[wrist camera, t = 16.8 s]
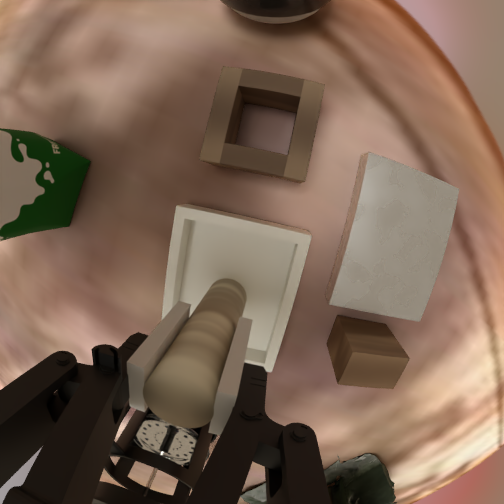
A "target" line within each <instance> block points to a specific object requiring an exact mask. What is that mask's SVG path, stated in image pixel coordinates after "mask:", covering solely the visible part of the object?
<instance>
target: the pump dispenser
mask: <svg viewBox="0 0 504 504" xmlns="http://www.w3.org/2000/svg"><path fill="white" fill-rule="evenodd" d="M220 1H222V2H223V3H224V4H225V5H227V6H229V7H230V8H231V9H232V10H234V11H235V12H237V13H238V14H240V15H242V16H244V17H246V18H249V19H251V20H255V21H258V22H263V23H273V24H280V23H290V22H295V21H299V20H302V19H304V18H307V17H309V16H311V15H312V14H314V13H315V12H317V11H318V10H319V9H320V8H322V7H323V6H325V5H326V4H327V3H328V2H330V0H220Z"/></svg>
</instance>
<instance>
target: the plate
mask: <svg viewBox="0 0 504 504" xmlns="http://www.w3.org/2000/svg"><path fill="white" fill-rule="evenodd" d="M458 193H459V189H458V188H456V187H454V186H452V185H450V184H448V183H446V182H443V181H441V180H439V179H437V178H435V177H432V176H430V175H428V174H425V173H423V172H421V171H418V170H416V169H414V168H411V167H409V166H406V165H404V164H401V163H398V162H396V161H393V160H390V159H388V158H385V157H382V156H379V155H376V154H374V153H371V152H368V153H365V154H363V155H361V158H360V163H359V168H358V173H357V177H356V182H355V187H354V191H353V195H352V200H351V204H350V208H349V212H348V216H347V220H346V224H345V228H344V232H343V235H342V239H341V243H340V246H339V250H338V253H337V257H336V260H335V264H334V267H333V271H332V274H331V277H330V280H329V284H328V287H327V290H326V293H325V296H326V299H327V301H328V303H329V305H334V306H339V307H344V308H349V309H354V310H359V311H364V312H369V313H374V314H380V315H385V316H390V317H396V318H401V319H407V320H413V321H418V322H420V320H421V317H422V315H423V313H424V310H425V308H426V305H427V303H428V300H429V297H430V295H431V292H432V289H433V286H434V284H435V281H436V278H437V275H438V272H439V269H440V266H441V262H442V259H443V256H444V253H445V249H446V245H447V242H448V238H449V234H450V230H451V226H452V222H453V218H454V213H455V209H456V204H457V199H458Z"/></svg>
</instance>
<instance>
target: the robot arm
mask: <svg viewBox="0 0 504 504" xmlns="http://www.w3.org/2000/svg"><path fill="white" fill-rule="evenodd" d="M190 307H191V304H189V303H185V302H182V301H178V302H177V303H176V305H175V306H174V307H173V308H172V309H171V310H170V311H169V313H168V314H167V315H166V316H165V317H164V318H163V320H162V321H161V322H160V323H159V324H158V325H157V327H156V328H155V329H154V330H153V331H152V333H151V334H150V335H149V336H148V335H145V334H142V333H139V332H138V333H136V334H133V335H131V336H130V337H129V338H128V339H127V340H126V342H124V343H123V344H122V346H120V347H119V348H118V349H117V348H116V347H114V346H112V345H106V344H104V345H98V346H95V347H94V348H93V349H92V357H93V365H86V364H81V363H77V360H76V357H75V356H74V355H73V354H72V353H70V352H68V351H57V352H55V353H53V354H52V355H50V356H49V357H47V358H46V359H44V360H43V361H41V362H40V363H38V364H37V365H36V366H34V367H33V368H31V369H30V370H28V371H27V372H25V373H24V374H23V375H21V376H20V377H18V378H17V379H15V380H14V381H13V382H11V383H10V384H8V385H7V386H6V387H4V388H3V389H1V390H0V488H1V487H2V486H3V485H4V484H5V483H6V482H7V481H8V480H9V479H10V478H11V477H12V476H13V475H14V474H15V473H16V472H17V471H18V470H19V469H20V468H21V467H22V466H23V465H24V464H25V463H26V462H27V461H28V460H29V459H30V458H31V457H32V456H33V455H34V454H35V453H36V452H37V451H38V450H39V449H40V448H41V447H42V446H43V447H42V449H41V451H40V453H39V455H38V456H37V458H36V460H35V462H34V464H33V466H32V467H31V469H30V471H29V473H28V475H27V477H26V480H25V482H24V483H23V485H21V486H19V487H18V486H17V487H13V488H11V489H10V490H9V491H8V493H7V495H6V497H5V499H4V501H3V503H2V504H92V502H93V499H94V495H95V492H96V489H97V486H98V483H99V481H100V478H101V475H102V472H103V469H104V466H105V463H106V461H107V458H108V455H109V453H110V450H111V447H112V445H113V442H114V439H115V437H116V434H117V431H118V429H119V426H120V424H121V421H122V419H123V416H124V414H125V404H126V402H127V401H128V399H129V405H130V407H133V408H135V409H138V410H140V411H143V412H145V411H146V409H147V408H148V406H147V404H146V402H145V400H144V397H143V387H144V385H145V383H146V382H147V380H148V379H149V377H150V376H151V374H152V373H153V371H154V369H155V368H156V366H157V365H158V363H159V362H160V360H161V359H162V358H163V356H164V355H165V353H166V352H167V350H168V349H169V347H170V346H171V344H172V343H173V341H174V340H175V338H176V337H177V335H178V334H179V332H180V331H181V329H182V328H183V326H184V325H185V323H186V322H187V320H188V319H189V314H190ZM252 321H253V320H252V319H248V318H244V317H240V318H239V321H238V324H237V328H236V331H235V334H234V337H233V341H232V344H231V347H230V351H229V354H228V357H227V360H226V364H225V367H224V370H223V373H222V377H221V380H220V383H219V386H218V390H217V394H216V399H215V403H214V415H213V418H212V419H211V422H210V427H209V432H208V433H212V434H216V435H220V438H219V440H218V442H217V444H216V446H215V448H214V450H213V452H212V454H211V456H210V458H209V460H208V462H207V464H206V466H205V468H204V470H203V472H202V473H201V475H200V477H199V479H198V481H197V483H196V485H195V487H194V489H193V491H192V492H191V494H190V496H189V498H188V500H187V502H186V503H185V504H237V503H238V500H239V497H240V495H241V492H242V489H243V486H244V484H245V481H246V478H247V475H248V472H249V470H250V467H251V464H252V461H253V462H255V463H258V464H260V465H262V466H265V476H266V501H267V504H331V502H330V497H329V492H328V488H327V483H326V478H325V474H324V469H323V465H322V460H321V456H320V451H319V447H318V442H317V438H316V434H315V432H314V430H312V429H311V428H310V427H309V426H307V425H305V424H302V423H291V424H288V425H286V426H283V425H280V424H278V423H276V422H274V421H272V420H271V419H270V418H269V417H268V416H267V415H266V413H265V396H266V383H267V382H266V381H267V372H266V370H265V368H264V366H259V365H254V364H250V363H245V362H244V361H245V356H246V351H247V346H248V341H249V336H250V331H251V326H252ZM56 390H57V391H56ZM55 391H56V392H55ZM54 392H55V393H54Z"/></svg>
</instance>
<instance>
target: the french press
mask: <svg viewBox="0 0 504 504" xmlns="http://www.w3.org/2000/svg"><path fill="white" fill-rule="evenodd" d="M130 408H131V407H130V405H129V399H128V401H127V402H126V404H125V414H124V416H123V419H124V417H125V416H126V414H127V413H128V411H129V409H130ZM123 419H122V420H123ZM121 422H122V421H121ZM210 422H211V421H210ZM210 422H209V423H207V424H206V425H204V426H202V427H198V428H183V427H179V426H175V425H172V424H170V423H168V422H166V421H164V420H162V419H161V418H159V417H158V416H157V415H155V414H154V413H153V412H152V411H151V410H150V408H149V407H148V408H147V409H146V411H145V412H143V411H140V410H138V409H136V411H135V413H134V414H133V416H132V417H131V419H130V420H129V422H128V424H127V426H126V427H125V429H124V431H123V432H122V434H121V435H120V437H119V439H118V440H117V442H115V441H114V442H113V445H112V447H111V450H110V453H109V455H108V458H107V461H106V463H105V466H104V469H105V470H106V471H107V473H108V474H109V475H110V476H111V477H112V478H113V479H114V480H115V481H117V482H118V483H119V484H121V485H122V486H124V487H125V488H123V487H120V486H117V485H114V484H111V483H107V482H101V481H99V483H98V486H97V489H96V492H95V495H94V499H93V502H92V504H160V503H161V504H185V503H186V502H187V500H188V498H189V494H190V490H191V489H192V490H193V489H194V487H195V485H196V483H197V481H198V479H199V477H200V475H201V473H202V471H203V467H204V464H205V461H206V460H207V459H208V457H209V446H210V443H211V442H213V441H214V440H215V439H216V437H217V435H216V434H212V433H208V432H209V427H210ZM110 456H117V457H120V459H119V460H118V462H117V464H116V466H115V465H114V463H113V462H112V460H111V458H110ZM135 461H138V462H141V463H144V464H146V465H149V466H151V467H154V469H153V471H152V474H151V476H150V478H149V480H148V483H147V485H146V487H144V486H142V485H140V484H138V483H137V482H135V481H133V480H132V479H130V478H129V477H127V476H128V474H129V472H130V470H131V468H132V466H133V464H134V462H135ZM181 465H183V467H182V466H181ZM157 470H161V471H163V472H165V473H167V474H169V475H171V476H173V477H175V478H176V479H178V483H177V486H176V489H175V492H174V495H167V494H163V493H160V492H157V491H154V490H151V489H150V487H151V484H152V482H153V480H154V477H155V475H156V473H157ZM126 488H127V489H126Z"/></svg>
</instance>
